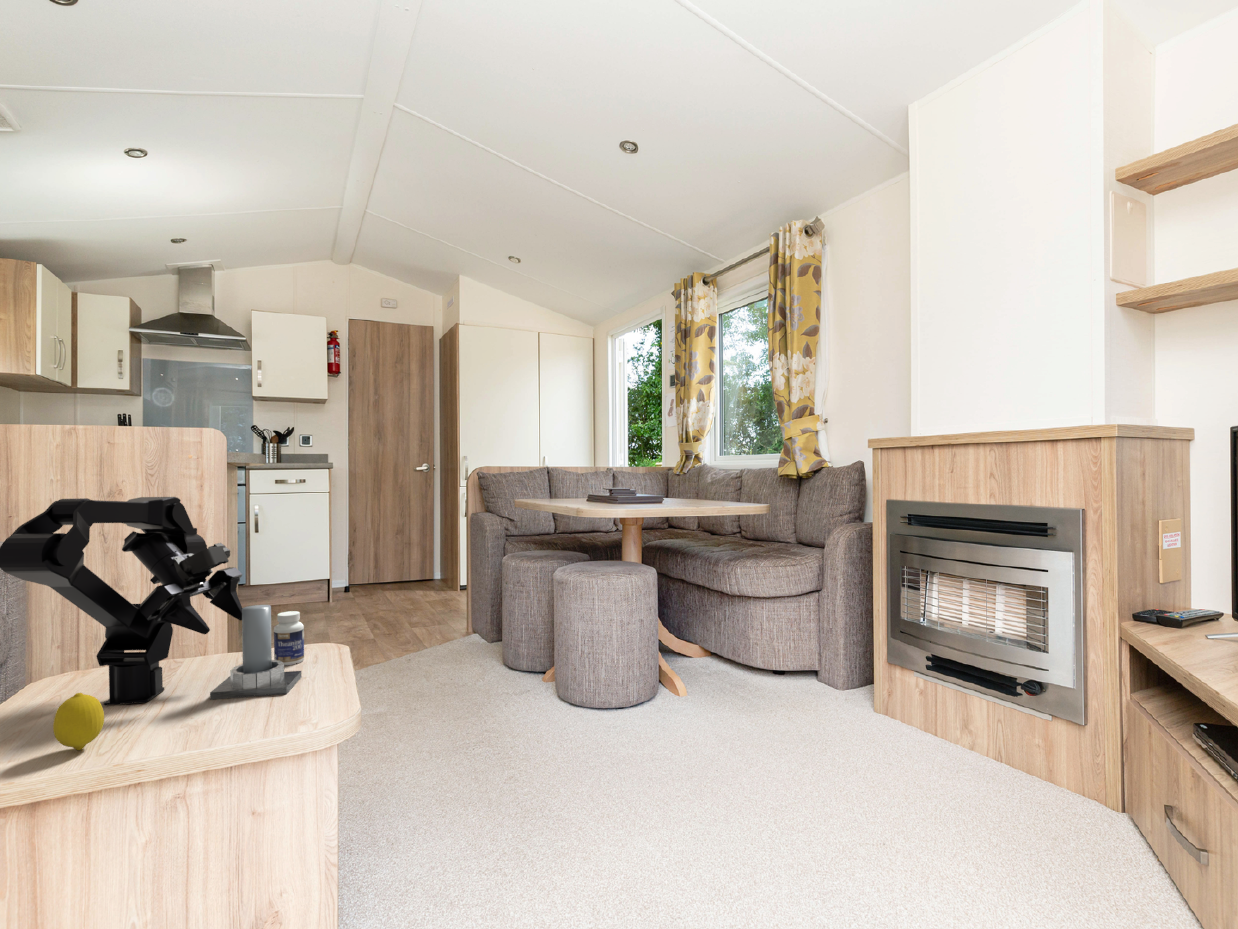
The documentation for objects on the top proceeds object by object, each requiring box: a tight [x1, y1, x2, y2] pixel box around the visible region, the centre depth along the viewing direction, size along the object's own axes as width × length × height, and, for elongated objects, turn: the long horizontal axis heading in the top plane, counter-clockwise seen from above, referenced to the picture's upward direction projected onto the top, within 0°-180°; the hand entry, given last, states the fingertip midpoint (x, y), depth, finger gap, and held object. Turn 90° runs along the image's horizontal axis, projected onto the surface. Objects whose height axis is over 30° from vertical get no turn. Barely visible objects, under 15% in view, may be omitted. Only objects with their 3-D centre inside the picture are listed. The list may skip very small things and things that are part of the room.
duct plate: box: [209, 659, 302, 700], centre depth 118 cm, size 12×9×4 cm
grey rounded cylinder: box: [241, 604, 273, 673], centre depth 118 cm, size 4×4×13 cm
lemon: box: [52, 692, 105, 751], centre depth 93 cm, size 6×6×8 cm
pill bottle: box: [273, 610, 305, 666], centre depth 133 cm, size 5×5×10 cm
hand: (226, 625), depth 118 cm, fingers open, 9 cm apart
